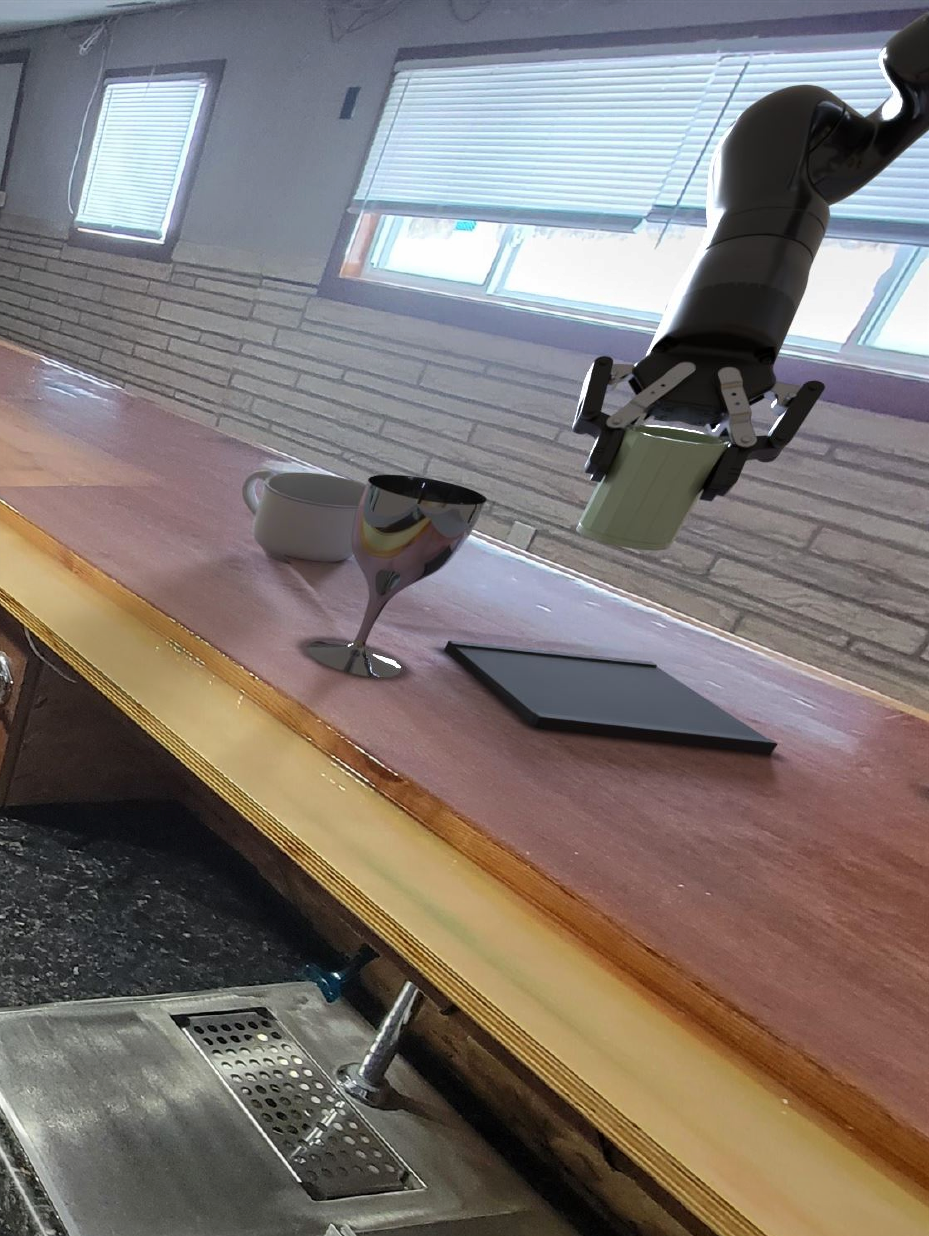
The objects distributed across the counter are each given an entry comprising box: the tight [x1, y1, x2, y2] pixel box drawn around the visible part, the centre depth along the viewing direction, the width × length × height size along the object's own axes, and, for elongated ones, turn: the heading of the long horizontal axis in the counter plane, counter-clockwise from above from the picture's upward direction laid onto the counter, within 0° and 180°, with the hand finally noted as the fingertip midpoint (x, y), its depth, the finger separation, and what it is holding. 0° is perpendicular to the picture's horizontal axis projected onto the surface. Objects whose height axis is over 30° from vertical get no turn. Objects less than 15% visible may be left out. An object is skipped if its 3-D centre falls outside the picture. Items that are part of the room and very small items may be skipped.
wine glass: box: [306, 474, 488, 678], centre depth 83 cm, size 8×8×15 cm
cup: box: [575, 424, 730, 552], centre depth 81 cm, size 6×6×8 cm
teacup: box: [241, 469, 366, 565], centre depth 108 cm, size 14×11×8 cm
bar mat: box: [443, 640, 778, 756], centre depth 82 cm, size 16×14×1 cm
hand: (653, 485), depth 79 cm, fingers closed on cup, 6 cm apart
